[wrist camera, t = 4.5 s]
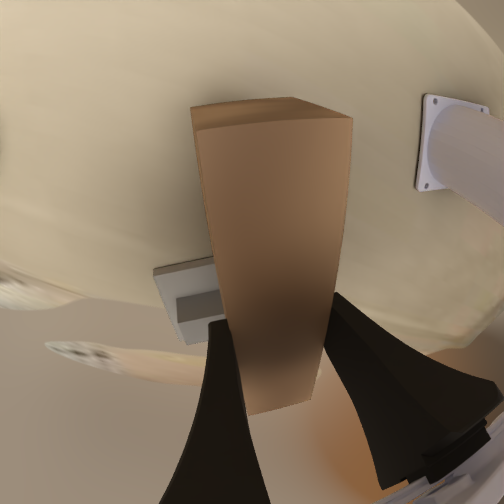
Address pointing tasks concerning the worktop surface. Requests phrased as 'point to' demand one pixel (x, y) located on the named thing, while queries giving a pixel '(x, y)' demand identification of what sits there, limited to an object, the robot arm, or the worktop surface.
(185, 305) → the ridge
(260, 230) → the beam
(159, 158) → the worktop surface
